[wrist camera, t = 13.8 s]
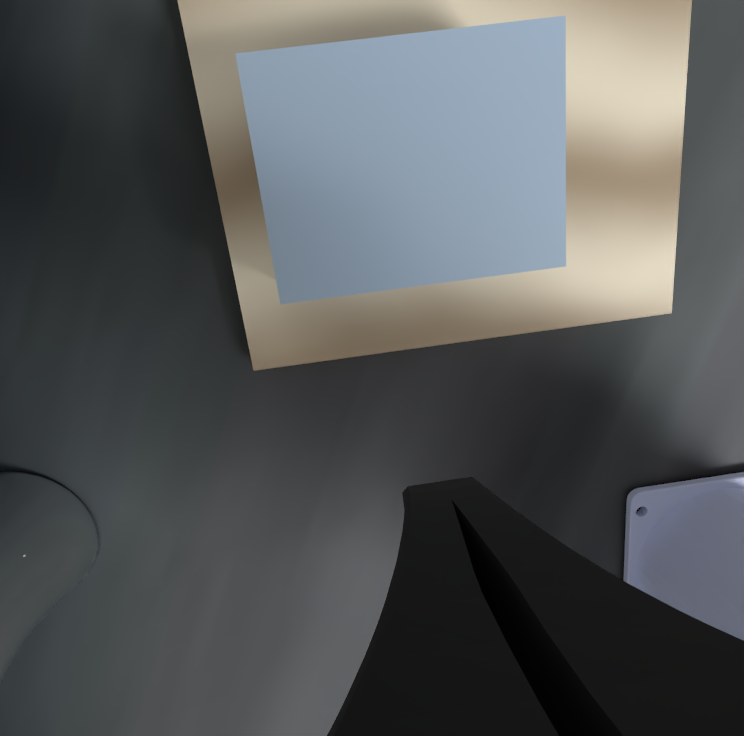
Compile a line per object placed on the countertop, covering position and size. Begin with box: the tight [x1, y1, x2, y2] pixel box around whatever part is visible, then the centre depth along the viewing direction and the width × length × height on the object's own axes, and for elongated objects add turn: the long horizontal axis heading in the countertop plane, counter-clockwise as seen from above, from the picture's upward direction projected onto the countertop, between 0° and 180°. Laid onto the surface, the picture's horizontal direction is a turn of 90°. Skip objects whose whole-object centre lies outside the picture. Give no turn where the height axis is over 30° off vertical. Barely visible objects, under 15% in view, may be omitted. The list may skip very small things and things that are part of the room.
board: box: [177, 0, 692, 371], centre depth 16 cm, size 12×16×1 cm
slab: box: [235, 16, 566, 304], centre depth 14 cm, size 6×4×8 cm
